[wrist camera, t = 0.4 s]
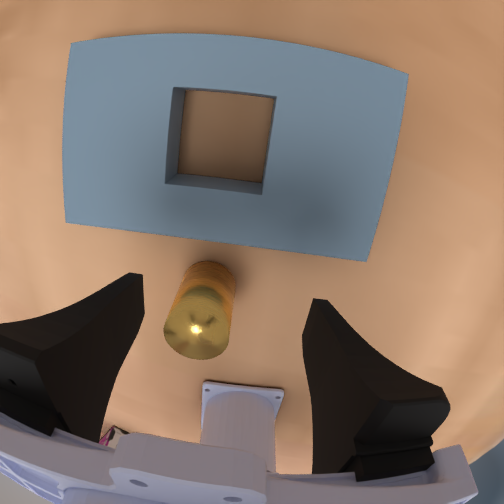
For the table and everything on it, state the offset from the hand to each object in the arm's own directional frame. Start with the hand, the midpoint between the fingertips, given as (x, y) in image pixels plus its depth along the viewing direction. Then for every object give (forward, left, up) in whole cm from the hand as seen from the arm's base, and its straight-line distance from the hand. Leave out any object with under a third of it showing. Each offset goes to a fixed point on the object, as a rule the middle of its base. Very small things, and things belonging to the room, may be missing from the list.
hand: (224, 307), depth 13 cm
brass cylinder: (-5, +2, -10) cm, 11 cm away
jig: (+6, +2, -10) cm, 11 cm away
